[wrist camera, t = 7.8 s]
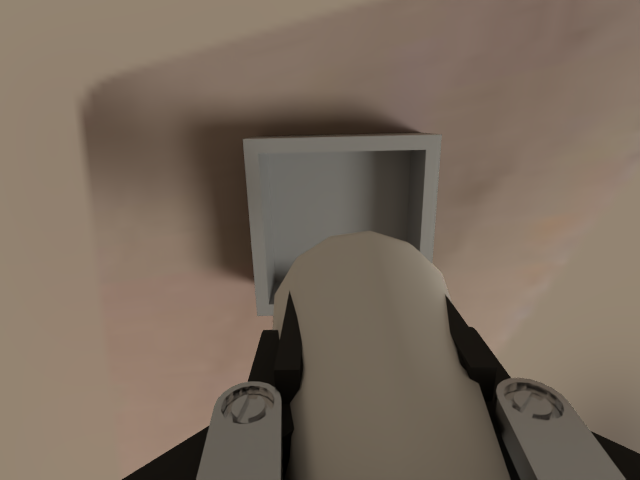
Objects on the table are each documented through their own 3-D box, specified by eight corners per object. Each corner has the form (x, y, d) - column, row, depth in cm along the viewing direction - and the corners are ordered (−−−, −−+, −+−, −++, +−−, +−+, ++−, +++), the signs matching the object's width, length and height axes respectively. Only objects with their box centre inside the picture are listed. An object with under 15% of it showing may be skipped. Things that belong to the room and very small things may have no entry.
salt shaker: (416, 356, 15) (829, 1387, 3) (278, 346, 15) (73, 1369, 3) (442, 219, 13) (1862, 1386, 1) (285, 207, 13) (-213, 1336, 1)
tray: (412, 283, 28) (428, 313, 24) (267, 286, 28) (257, 316, 24) (420, 132, 25) (441, 134, 20) (256, 136, 25) (242, 139, 20)
